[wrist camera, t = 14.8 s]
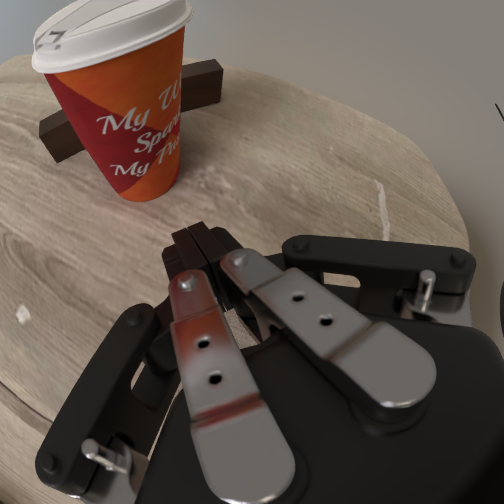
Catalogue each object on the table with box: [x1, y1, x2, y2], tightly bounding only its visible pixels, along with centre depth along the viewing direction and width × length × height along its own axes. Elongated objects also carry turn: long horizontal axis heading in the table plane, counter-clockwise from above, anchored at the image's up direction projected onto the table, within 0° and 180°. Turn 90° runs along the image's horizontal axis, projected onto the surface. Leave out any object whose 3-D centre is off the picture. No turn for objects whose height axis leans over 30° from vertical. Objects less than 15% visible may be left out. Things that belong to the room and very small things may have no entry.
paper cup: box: [32, 0, 193, 202], centre depth 13 cm, size 8×8×14 cm
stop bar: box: [39, 59, 223, 163], centre depth 19 cm, size 16×2×4 cm, turn 116°
